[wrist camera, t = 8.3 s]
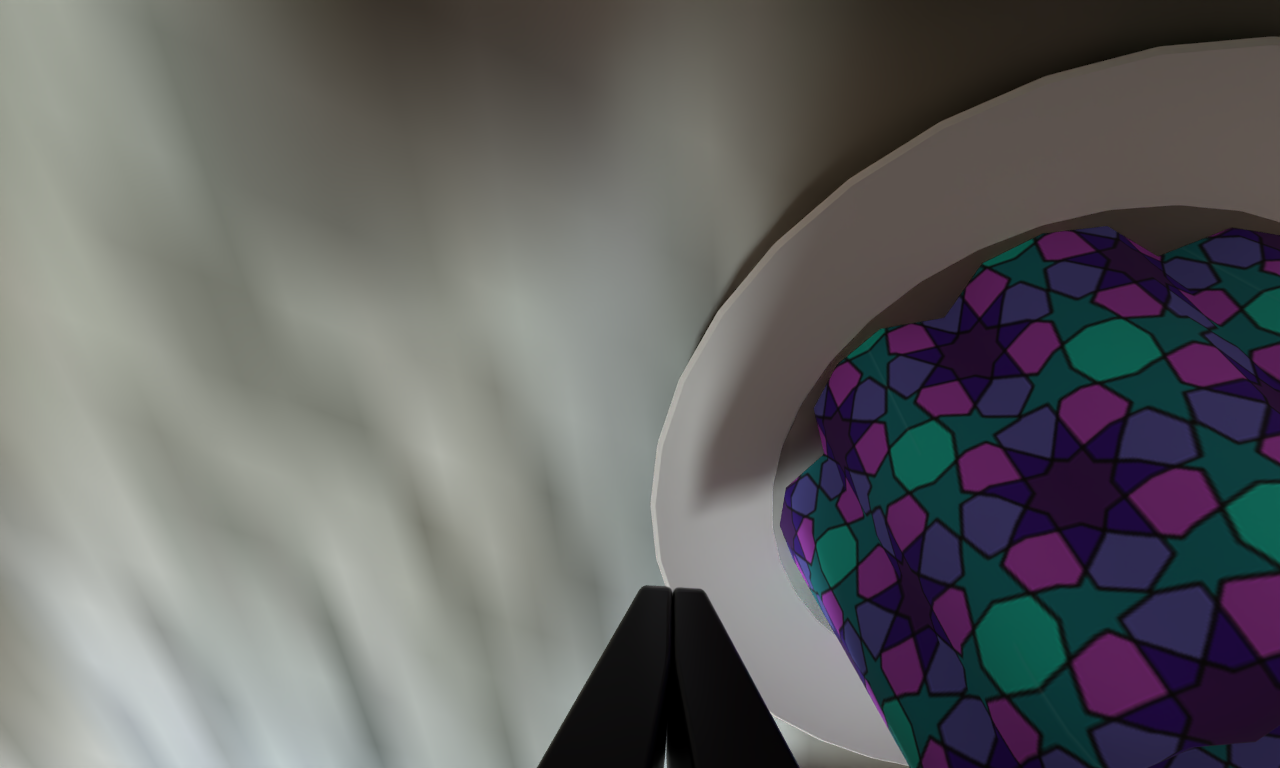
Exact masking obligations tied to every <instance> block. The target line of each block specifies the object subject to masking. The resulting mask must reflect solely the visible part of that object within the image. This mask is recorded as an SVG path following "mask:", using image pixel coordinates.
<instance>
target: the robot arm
mask: <svg viewBox="0 0 1280 768" xmlns="http://www.w3.org/2000/svg"><path fill="white" fill-rule="evenodd" d="M666 736H667V739H666ZM665 750H666V759H667V768H800V767H799V765H798V764H797V762H796V760H795V758H794V756H793V754H792V752H791V751H790V749H789V747H788V745H787V743H786V741H785V739H784V737H783V736H782V734H781V732H780V730H779V728H778V726H777V724H776V723H775V721H774V719H773V717H772V715H771V713H770V711H769V709H768V708H767V706H766V704H765V702H764V700H763V698H762V696H761V695H760V693H759V691H758V689H757V687H756V685H755V683H754V681H753V680H752V678H751V676H750V674H749V672H748V670H747V668H746V667H745V665H744V663H743V661H742V659H741V657H740V655H739V653H738V652H737V650H736V648H735V646H734V644H733V642H732V640H731V639H730V637H729V635H728V633H727V631H726V629H725V627H724V625H723V624H722V622H721V620H720V618H719V616H718V614H717V612H716V610H715V609H714V607H713V605H712V603H711V601H710V599H709V597H708V596H707V594H706V592H705V591H704V590H702V589H700V588H683V587H677V588H675V589H674V591H673V593H672V589H671V588H670V587H666V586H648V585H646V586H643V587H642V588H641V589H640V590H639V592H638V593H637V595H636V597H635V598H634V600H633V602H632V604H631V605H630V607H629V609H628V611H627V612H626V614H625V616H624V618H623V619H622V621H621V623H620V624H619V626H618V628H617V630H616V631H615V633H614V635H613V637H612V638H611V640H610V642H609V644H608V645H607V647H606V649H605V650H604V652H603V654H602V656H601V657H600V659H599V661H598V663H597V664H596V666H595V668H594V670H593V671H592V673H591V675H590V677H589V678H588V680H587V682H586V683H585V685H584V687H583V689H582V690H581V692H580V694H579V696H578V697H577V699H576V701H575V703H574V704H573V706H572V708H571V709H570V711H569V713H568V715H567V716H566V718H565V720H564V722H563V723H562V725H561V727H560V729H559V730H558V732H557V734H556V736H555V737H554V739H553V741H552V742H551V744H550V746H549V748H548V749H547V751H546V753H545V755H544V756H543V758H542V760H541V762H540V763H539V765H538V767H537V768H664V761H665Z"/></svg>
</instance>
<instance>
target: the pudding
mask: <svg viewBox="0 0 1280 768" xmlns="http://www.w3.org/2000/svg"><path fill="white" fill-rule="evenodd" d="M1172 205H1181V206H1192V207H1202V208H1213V209H1223V210H1234V211H1242V212H1246V213H1249V214H1253V215H1256V216H1260V217H1263V218H1266V219H1270V220H1273V221H1277V222H1280V37H1274V36H1272V37H1261V38H1249V39H1238V40H1227V41H1216V42H1204V43H1193V44H1182V45H1171V46H1160V47H1155V48H1151V49H1147V50H1144V51H1140V52H1136V53H1132V54H1128V55H1124V56H1121V57H1117V58H1113V59H1109V60H1105V61H1101V62H1097V63H1094V64H1090V65H1086V66H1082V67H1078V68H1074V69H1071V70H1067V71H1063V72H1059V73H1055V74H1051V75H1048V76H1044V77H1042V78H1040V79H1037V80H1035V81H1033V82H1031V83H1028V84H1026V85H1024V86H1021V87H1019V88H1017V89H1014V90H1012V91H1010V92H1007V93H1005V94H1003V95H1001V96H998V97H996V98H994V99H991V100H989V101H987V102H984V103H982V104H980V105H977V106H975V107H973V108H971V109H968V110H966V111H964V112H961V113H959V114H957V115H954V116H952V117H950V118H948V119H945V120H943V121H941V122H939V123H937V124H936V125H934V126H933V127H931V128H929V129H928V130H926V131H925V132H923V133H921V134H920V135H918V136H917V137H915V138H913V139H912V140H910V141H909V142H907V143H905V144H904V145H902V146H901V147H899V148H897V149H896V150H894V151H893V152H891V153H889V154H888V155H886V156H885V157H883V158H881V159H880V160H878V161H877V162H875V163H874V164H872V165H870V166H869V167H867V168H866V169H864V170H862V171H861V172H859V173H858V174H856V175H854V176H853V177H851V178H850V179H848V180H847V181H846V182H845V183H844V184H842V185H841V186H840V187H839V188H838V189H837V190H836V191H834V192H833V193H832V194H831V195H830V196H829V197H827V198H826V199H825V200H824V201H823V202H822V203H821V204H819V205H818V206H817V207H816V208H815V209H814V210H812V211H811V212H810V213H809V214H808V215H807V216H806V217H804V218H803V219H802V220H801V221H800V222H799V223H797V224H796V225H795V226H794V227H793V228H792V229H790V230H789V231H788V232H787V233H786V234H785V235H784V236H782V237H781V238H780V239H779V240H778V241H777V242H775V243H774V245H773V246H772V247H771V248H770V249H769V251H768V252H767V253H766V254H765V255H764V257H763V258H762V259H761V260H760V261H759V263H758V264H757V265H756V266H755V267H754V269H753V270H752V271H751V272H750V273H749V275H748V276H747V277H746V278H745V279H744V281H743V282H742V283H741V284H740V285H739V287H738V288H737V289H736V290H735V291H734V293H733V294H732V295H731V296H730V297H729V299H728V300H727V301H726V302H725V303H724V305H723V306H722V307H721V308H720V309H719V311H718V312H717V314H716V315H715V317H714V319H713V321H712V322H711V324H710V326H709V328H708V329H707V331H706V333H705V335H704V336H703V338H702V340H701V342H700V343H699V345H698V347H697V349H696V350H695V352H694V354H693V356H692V357H691V359H690V361H689V363H688V364H687V366H686V368H685V370H684V371H683V373H682V375H681V377H680V378H679V381H678V384H677V387H676V390H675V393H674V396H673V399H672V402H671V405H670V408H669V411H668V414H667V417H666V420H665V423H664V426H663V429H662V431H661V434H660V437H659V440H658V443H657V452H656V460H655V469H654V477H653V486H652V494H651V503H650V505H651V514H652V524H653V533H654V543H655V552H656V560H657V563H658V565H659V568H660V571H661V574H662V577H663V580H664V583H665V586H666V587H670V588H671V589H672V593H673V591H674V589H675V588H677V587H683V588H700V589H702V590H704V591H705V592H706V594H707V596H708V597H709V599H710V601H711V603H712V605H713V607H714V609H715V610H716V612H717V614H718V616H719V618H720V620H721V622H722V624H723V625H724V627H725V629H726V631H727V633H728V635H729V637H730V639H731V640H732V642H733V644H734V646H735V648H736V650H737V652H738V653H739V655H740V657H741V659H742V661H743V663H744V665H745V667H746V668H747V670H748V672H749V674H750V676H751V678H752V680H753V681H754V683H755V685H756V687H757V689H758V691H759V693H760V695H761V696H762V698H763V700H764V702H765V704H766V706H767V708H768V709H769V711H770V713H771V715H772V716H774V717H776V718H778V719H780V720H782V721H784V722H786V723H788V724H789V725H791V726H793V727H795V728H797V729H799V730H801V731H803V732H805V733H807V734H809V735H811V736H813V737H815V738H816V739H818V740H821V741H824V742H827V743H829V744H832V745H835V746H838V747H841V748H844V749H847V750H849V751H852V752H855V753H858V754H861V755H864V756H867V757H869V758H874V759H878V760H883V761H888V762H892V763H897V764H902V765H906V766H909V767H910V768H1280V235H1275V234H1269V233H1263V232H1256V231H1250V230H1243V229H1237V228H1229V229H1227V230H1224V231H1222V232H1219V233H1217V234H1214V235H1212V236H1209V237H1206V238H1204V239H1201V240H1199V241H1196V242H1194V243H1191V244H1189V245H1186V246H1184V247H1181V248H1179V249H1176V250H1173V251H1171V252H1168V253H1166V254H1163V255H1161V256H1156V255H1155V254H1153V253H1151V252H1150V251H1148V250H1146V249H1145V248H1143V247H1141V246H1140V245H1138V244H1136V243H1135V242H1133V241H1131V240H1130V239H1128V238H1126V237H1125V236H1123V235H1121V234H1120V233H1118V232H1116V231H1115V230H1113V229H1111V228H1110V227H1108V226H1103V227H1095V228H1087V229H1078V230H1070V231H1061V232H1053V233H1044V234H1041V235H1039V236H1037V237H1035V238H1033V239H1031V240H1029V241H1027V242H1025V243H1023V244H1021V245H1019V246H1017V247H1015V248H1013V249H1011V250H1009V251H1007V252H1004V253H1002V254H1000V255H998V256H996V257H994V258H992V259H990V260H988V261H986V262H984V263H982V265H981V266H980V268H979V269H978V270H977V272H976V273H975V275H974V276H973V278H972V279H971V280H970V282H969V283H968V285H967V286H966V288H965V289H964V290H963V292H962V293H961V295H960V296H959V298H958V299H957V300H956V302H955V303H954V305H953V306H952V308H951V309H950V310H949V312H948V313H947V315H946V316H945V318H940V319H935V320H929V321H923V322H917V323H912V324H906V325H900V326H895V327H889V328H883V329H880V330H879V331H877V332H876V333H875V334H874V335H872V336H871V337H870V338H869V339H868V340H866V341H865V342H864V343H863V344H862V345H860V346H859V347H858V348H857V349H856V350H854V351H853V352H852V353H851V354H850V355H848V356H847V357H846V358H845V359H844V360H842V361H841V362H840V363H839V364H838V365H837V366H836V368H835V370H834V371H833V373H832V375H831V377H830V379H829V381H828V383H827V385H826V386H825V388H824V390H823V392H822V394H821V396H820V398H819V400H818V401H817V403H816V405H815V407H814V411H815V416H816V420H817V424H818V429H819V433H820V437H821V442H822V446H823V450H824V455H823V456H821V457H820V458H819V459H818V460H817V461H816V462H815V463H814V464H812V465H811V466H810V467H809V468H808V469H807V470H806V471H805V472H803V473H802V474H801V475H800V476H799V477H798V478H797V479H796V480H794V481H793V482H792V483H791V484H790V485H789V486H788V487H787V488H786V491H785V497H784V503H783V509H782V515H781V522H780V527H781V530H782V532H783V535H784V537H785V540H786V542H787V545H788V547H789V550H790V552H791V555H792V558H793V560H794V562H795V563H796V565H797V567H798V569H799V570H800V572H801V574H802V576H803V578H804V579H805V581H806V583H807V585H808V587H809V588H810V590H811V592H812V594H813V595H814V597H815V599H816V601H817V603H818V604H819V606H820V608H821V610H822V612H823V613H824V615H825V617H826V619H827V620H828V622H829V624H830V626H831V628H832V629H833V631H834V633H835V635H836V636H835V635H834V634H833V633H832V632H831V631H830V630H828V629H827V628H826V627H825V626H824V625H822V624H821V623H820V622H819V621H818V620H817V619H816V618H815V616H814V615H813V614H812V613H811V611H810V610H809V609H808V608H807V606H806V605H805V604H804V603H803V601H802V600H801V599H800V598H799V596H798V595H797V594H796V592H795V590H794V588H793V586H792V584H791V582H790V580H789V578H788V576H787V574H786V571H785V569H784V567H783V565H782V563H781V561H780V556H779V552H778V548H777V543H776V539H775V534H774V530H773V485H774V480H775V476H776V472H777V467H778V463H779V458H780V454H781V450H782V446H783V444H784V441H785V439H786V437H787V435H788V433H789V430H790V428H791V426H792V424H793V421H794V419H795V417H796V415H797V413H798V410H799V408H800V406H801V404H802V402H803V401H804V399H805V398H806V397H807V395H808V394H809V392H810V391H811V389H812V388H813V386H814V385H815V384H816V382H817V381H818V379H819V378H820V376H821V375H822V373H823V372H824V370H825V369H826V368H827V366H828V365H829V363H830V362H831V361H832V360H833V359H834V358H835V356H836V355H837V354H838V353H839V352H840V351H841V350H842V349H843V348H844V347H845V346H846V345H847V344H848V343H849V342H850V341H851V340H852V339H853V338H854V337H855V336H856V335H857V334H858V333H859V332H860V331H861V330H862V329H863V327H864V326H865V325H866V324H867V323H868V322H869V321H870V320H871V319H873V318H874V317H875V316H877V315H878V314H879V313H881V312H882V311H883V310H885V309H886V308H887V307H888V306H890V305H891V304H892V303H894V302H895V301H896V300H898V299H899V298H900V297H902V296H903V295H904V294H906V293H907V292H908V291H909V290H911V289H912V288H913V287H915V286H916V285H917V284H919V283H920V282H922V281H924V280H925V279H927V278H929V277H931V276H933V275H934V274H936V273H938V272H940V271H941V270H943V269H945V268H947V267H949V266H950V265H952V264H954V263H956V262H958V261H959V260H961V259H963V258H965V257H967V256H968V255H970V254H972V253H974V252H976V251H977V250H980V249H982V248H985V247H988V246H990V245H993V244H995V243H998V242H1001V241H1003V240H1006V239H1008V238H1011V237H1014V236H1016V235H1019V234H1021V233H1024V232H1026V231H1029V230H1032V229H1034V228H1037V227H1039V226H1042V225H1047V224H1051V223H1055V222H1060V221H1064V220H1068V219H1073V218H1077V217H1082V216H1086V215H1090V214H1095V213H1099V212H1103V211H1108V210H1118V209H1131V208H1145V207H1159V206H1172Z"/></svg>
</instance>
